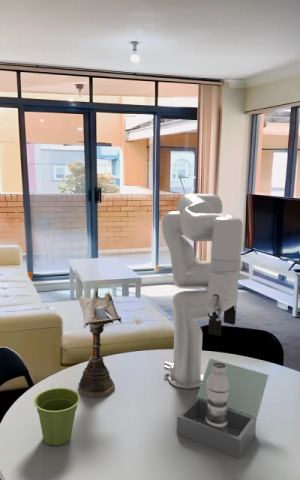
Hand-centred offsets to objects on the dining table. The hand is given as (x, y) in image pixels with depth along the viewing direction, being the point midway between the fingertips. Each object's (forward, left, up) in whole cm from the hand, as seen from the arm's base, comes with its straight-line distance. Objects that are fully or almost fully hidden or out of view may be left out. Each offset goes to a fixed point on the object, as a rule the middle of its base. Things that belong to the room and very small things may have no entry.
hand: (222, 328), depth 110 cm
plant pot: (-34, -26, -31) cm, 53 cm away
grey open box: (0, 0, -30) cm, 30 cm away
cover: (0, +10, -21) cm, 23 cm away
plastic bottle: (0, 0, -31) cm, 31 cm away
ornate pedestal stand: (-40, -1, -31) cm, 50 cm away
